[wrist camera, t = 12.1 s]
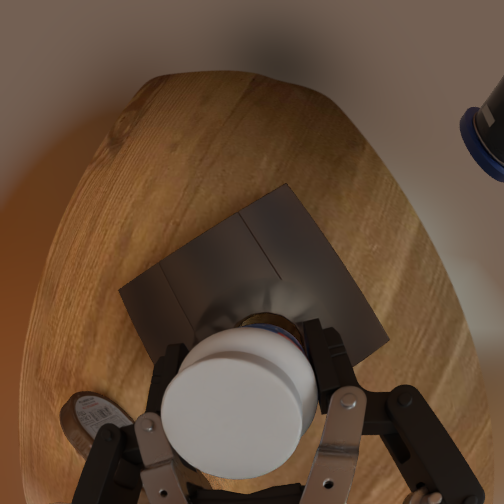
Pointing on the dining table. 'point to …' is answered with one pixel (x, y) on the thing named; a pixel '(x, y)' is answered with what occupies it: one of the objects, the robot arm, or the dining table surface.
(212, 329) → the base pad
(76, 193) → the dining table surface
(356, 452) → the robot arm
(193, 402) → the pill bottle
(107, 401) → the tin
